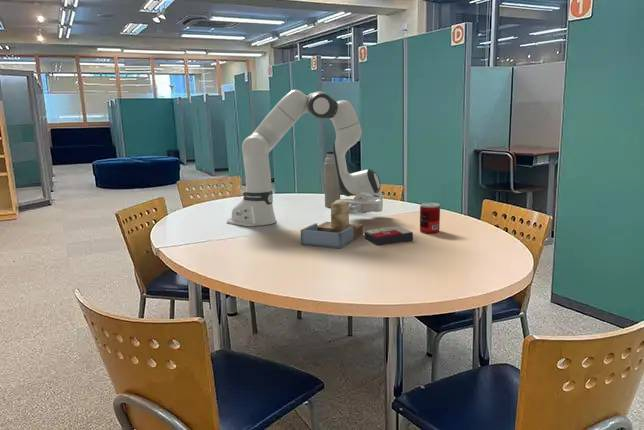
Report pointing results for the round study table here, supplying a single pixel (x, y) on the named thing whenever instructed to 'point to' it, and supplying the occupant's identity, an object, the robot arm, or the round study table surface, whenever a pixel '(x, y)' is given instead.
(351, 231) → the tray
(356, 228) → the walnut plate
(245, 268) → the round study table surface
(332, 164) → the thermos bottle
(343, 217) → the oak block
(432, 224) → the canned food
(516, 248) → the round study table surface
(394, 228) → the calculator
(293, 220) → the round study table surface
